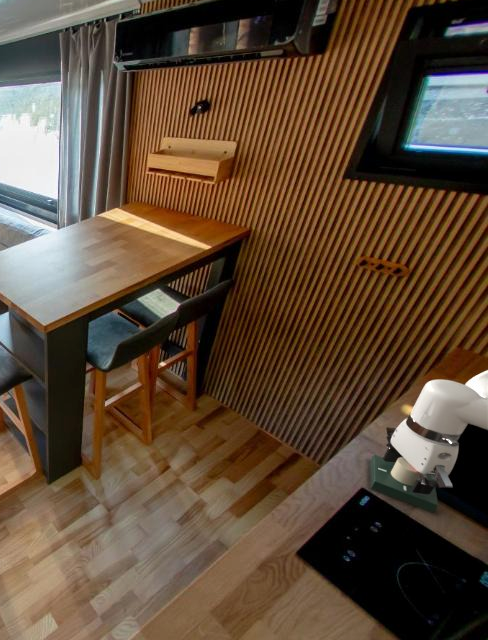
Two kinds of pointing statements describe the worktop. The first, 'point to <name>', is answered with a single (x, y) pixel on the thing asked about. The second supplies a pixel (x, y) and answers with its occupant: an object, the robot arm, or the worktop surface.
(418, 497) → the panel
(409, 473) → the grip knob
